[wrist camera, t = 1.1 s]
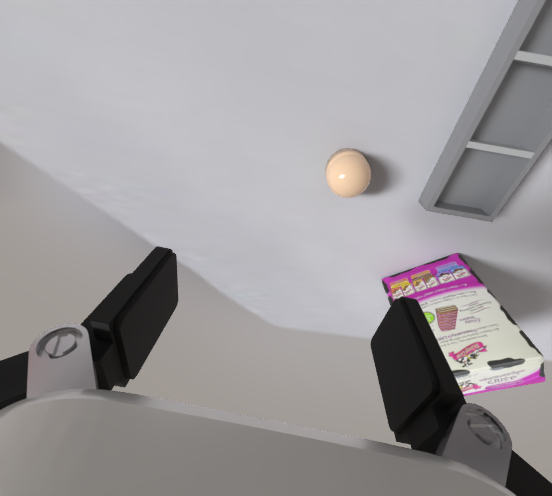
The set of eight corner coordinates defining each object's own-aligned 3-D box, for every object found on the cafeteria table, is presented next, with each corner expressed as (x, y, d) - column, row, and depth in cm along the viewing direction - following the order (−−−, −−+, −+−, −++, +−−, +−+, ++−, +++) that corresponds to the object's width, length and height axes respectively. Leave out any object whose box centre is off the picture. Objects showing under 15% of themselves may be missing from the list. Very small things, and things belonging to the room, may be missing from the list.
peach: (331, 144, 31) (335, 157, 27) (372, 151, 31) (382, 165, 27) (321, 184, 33) (323, 201, 29) (358, 190, 33) (366, 208, 29)
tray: (553, -70, 20) (582, -85, 18) (655, -51, 20) (696, -64, 18) (418, 200, 33) (425, 210, 31) (480, 211, 34) (492, 221, 31)
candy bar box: (390, 298, 43) (428, 404, 30) (380, 278, 41) (416, 382, 28) (466, 275, 39) (549, 385, 26) (459, 250, 37) (546, 357, 24)
